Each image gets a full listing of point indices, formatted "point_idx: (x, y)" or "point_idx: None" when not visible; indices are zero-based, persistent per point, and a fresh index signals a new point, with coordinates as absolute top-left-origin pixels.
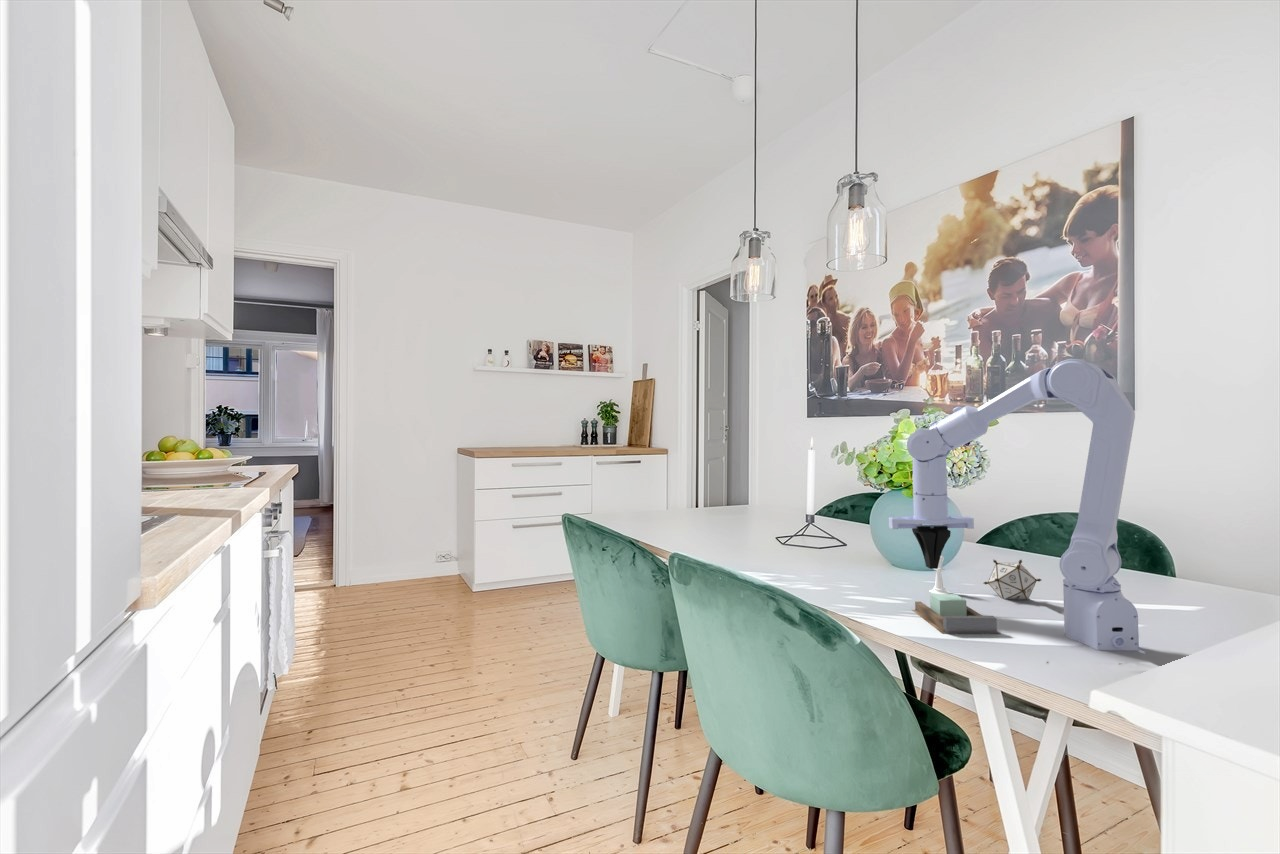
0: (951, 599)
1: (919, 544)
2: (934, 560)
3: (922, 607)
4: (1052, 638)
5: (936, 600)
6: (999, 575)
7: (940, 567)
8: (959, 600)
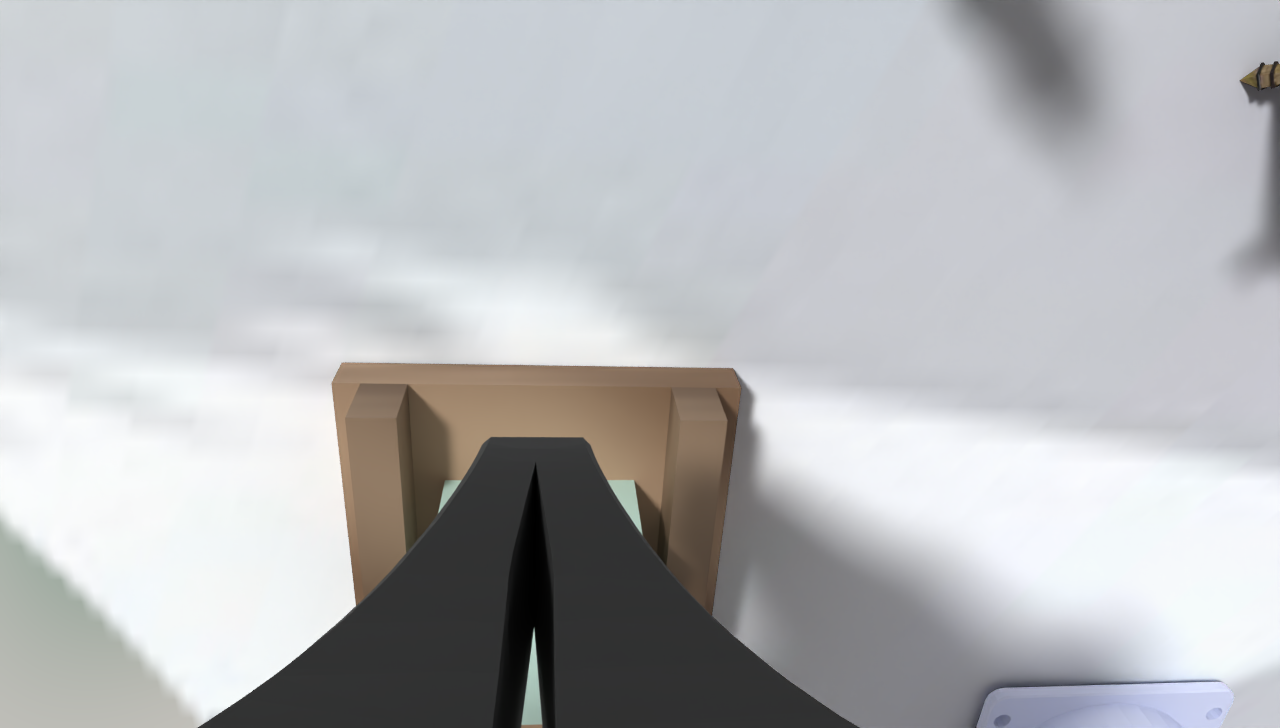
0: (538, 702)
1: (343, 625)
2: (536, 653)
3: (359, 550)
4: (954, 717)
5: None
6: None
7: None
8: None
